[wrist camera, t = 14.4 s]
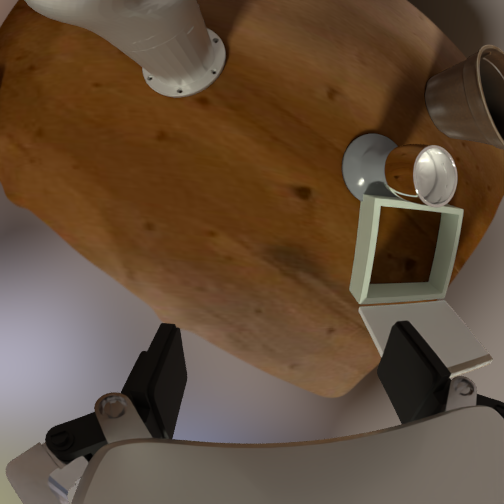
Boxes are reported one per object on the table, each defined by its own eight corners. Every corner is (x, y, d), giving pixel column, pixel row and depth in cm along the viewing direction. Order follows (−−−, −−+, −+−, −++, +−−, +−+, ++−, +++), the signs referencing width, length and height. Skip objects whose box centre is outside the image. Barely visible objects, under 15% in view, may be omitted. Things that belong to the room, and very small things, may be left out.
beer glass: (354, 146, 35) (408, 142, 21) (394, 145, 35) (456, 144, 21) (358, 193, 38) (412, 212, 23) (397, 190, 37) (459, 207, 23)
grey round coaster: (342, 129, 35) (344, 128, 35) (404, 140, 35) (407, 140, 35) (339, 201, 39) (341, 202, 38) (400, 206, 39) (403, 207, 38)
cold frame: (361, 193, 38) (375, 198, 34) (446, 203, 39) (463, 209, 34) (349, 289, 43) (359, 304, 39) (430, 286, 44) (444, 298, 39)
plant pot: (486, 129, 33) (544, 131, 18) (444, 166, 37) (510, 176, 21) (447, 56, 29) (502, 36, 14) (398, 83, 32) (459, 58, 17)
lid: (399, 387, 24) (396, 392, 24) (492, 358, 24) (489, 363, 25) (359, 306, 39) (358, 312, 39) (444, 300, 39) (443, 305, 39)
